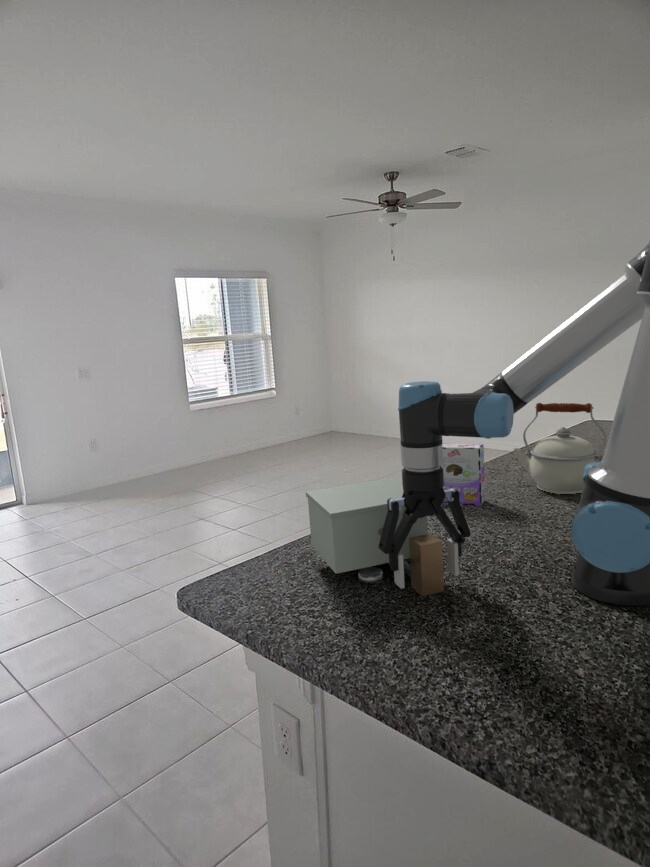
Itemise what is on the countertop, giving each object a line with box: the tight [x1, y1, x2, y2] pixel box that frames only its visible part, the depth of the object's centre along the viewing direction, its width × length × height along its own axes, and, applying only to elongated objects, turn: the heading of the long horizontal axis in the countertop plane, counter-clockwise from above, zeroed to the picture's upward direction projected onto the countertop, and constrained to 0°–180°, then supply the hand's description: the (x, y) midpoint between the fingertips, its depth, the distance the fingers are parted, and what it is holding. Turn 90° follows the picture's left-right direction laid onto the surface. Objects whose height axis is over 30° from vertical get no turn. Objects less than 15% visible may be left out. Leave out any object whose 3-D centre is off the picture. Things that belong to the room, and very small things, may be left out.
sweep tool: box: [403, 533, 445, 597], centre depth 110 cm, size 15×4×10 cm, turn 18°
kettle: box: [512, 402, 607, 495], centre depth 159 cm, size 25×18×25 cm
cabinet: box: [305, 477, 429, 575], centre depth 115 cm, size 18×21×16 cm
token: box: [357, 566, 384, 583], centre depth 113 cm, size 5×5×1 cm
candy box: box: [441, 442, 486, 507], centre depth 154 cm, size 14×6×16 cm, turn 63°
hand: (426, 579), depth 105 cm, fingers open, 11 cm apart
